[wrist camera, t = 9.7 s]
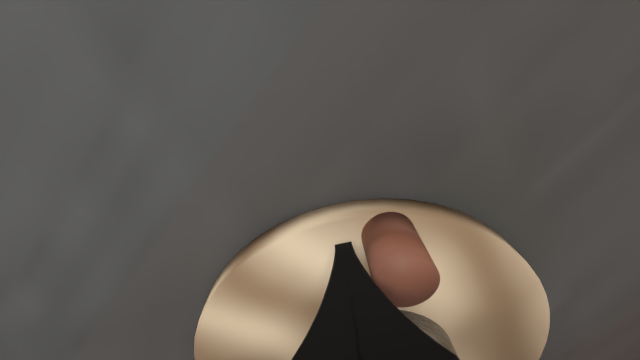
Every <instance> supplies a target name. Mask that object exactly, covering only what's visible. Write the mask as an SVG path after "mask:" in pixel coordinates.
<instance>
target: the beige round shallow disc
mask: <svg viewBox="0 0 640 360" xmlns="http://www.w3.org/2000/svg"><path fill="white" fill-rule="evenodd" d="M350 241H351V242H352V246H353V248H354V251H355V253H356V255H357V257H358V259H359V260H360V262H361V264H362V265H363V267H364V268H365V270H366V271H367V273H368V274H369V275H370V277H371V278H372V280H373V281H374V282H375V283H376V285H377V286H378V287H379V288H380V290H381V291H382V292H383V293H384V294H385V295H386V297H387V298H388V299H389V300H390V301H391V302H392V303H393V304H394V305H395V306H396V307H397V308H398V309H399V310H404V311H409V312H414V313H417V314H420V315H423V316H425V317H427V318H429V319H431V320H433V321H434V322H436V323H437V324H438V325H439V326H441V327H442V328H443V329H444V330H445V332H446V333H447V334H448V336H449V338H450V340H451V342H452V344H453V347H454V349H455V351H456V353H457V355H458V358H459V359H460V360H539V358H540V356H541V354H542V352H543V349H544V347H545V344H546V341H547V337H548V332H549V327H550V309H549V305H548V300H547V295H546V293H545V290H544V288H543V286H542V284H541V282H540V279H539V278H538V276H537V275H536V274H535V272H534V271H533V270H532V268H531V267H530V266H529V264H528V263H527V262H526V261H525V260H524V259H523V258H522V257H521V256H520V254H519V253H518V252H517V251H516V250H515V249H514V248H513V247H512V246H511V245H510V244H509V243H508V242H507V241H506V240H505V239H504V238H503V237H502V236H501V235H499V234H498V233H497V232H496V231H495V230H493V229H492V228H490V227H489V226H487V225H486V224H484V223H483V222H481V221H480V220H478V219H475V218H473V217H471V216H469V215H467V214H465V213H462V212H460V211H458V210H454V209H451V208H448V207H444V206H441V205H438V204H434V203H428V202H422V201H415V200H409V199H385V198H381V199H368V200H355V201H350V202H344V203H339V204H334V205H328V206H325V207H322V208H319V209H315V210H312V211H309V212H306V213H303V214H300V215H298V216H296V217H293V218H291V219H289V220H287V221H284V222H282V223H280V224H278V225H276V226H275V227H273V228H271V229H270V230H268V231H266V232H265V233H263V234H261V235H259V236H258V237H257V238H255V239H254V240H253V241H252V242H250V243H249V244H248V245H246V246H245V247H244V248H243V249H241V250H240V251H239V252H238V253H237V254H236V255H235V256H234V257H233V259H232V260H231V261H230V262H229V263H228V264H227V265H226V266H225V267H224V269H223V270H222V272H221V273H220V275H219V276H218V278H217V279H216V280H215V282H214V284H213V286H212V288H211V291H210V293H209V295H208V297H207V300H206V302H205V305H204V308H203V311H202V313H201V316H200V319H199V322H198V326H197V330H196V334H195V342H194V356H195V360H292V358H293V356H294V355H295V353H296V352H297V350H298V348H299V347H300V345H301V344H302V342H303V340H304V338H305V337H306V335H307V333H308V331H309V329H310V327H311V325H312V323H313V321H314V319H315V317H316V314H317V312H318V310H319V307H320V305H321V302H322V300H323V297H324V294H325V291H326V288H327V285H328V282H329V278H330V275H331V271H332V267H333V262H334V256H335V245H336V244H341V243H346V242H350Z"/></svg>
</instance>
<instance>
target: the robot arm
mask: <svg viewBox="0 0 640 360" xmlns="http://www.w3.org/2000/svg"><path fill="white" fill-rule="evenodd" d="M292 360H460V359H459V358H458V357H457V356H456V355H455V354H453V353H452V352H450V351H449V350H448V349H446V348H445V347H443V346H442V345H440V344H439V343H438V342H436V341H435V340H434V339H432V338H431V337H430V336H429V335H427V334H426V333H425V332H423V331H422V330H421V329H420V328H419V327H418V326H416V325H415V324H414V323H413V322H412V321H411V320H410V319H408V318H407V317H406V316H405V315H404V314H403V313H402V312H401V311H400V310H399V309H398V308H397V307H396V306H395V305H394V304H393V303H392V302H391V301H390V300H389V299H388V298H387V297H386V295H385V294H384V293H383V292H382V291H381V290H380V288H379V287H378V286H377V285H376V283H375V282H374V281H373V280H372V278H371V277H370V275H369V274H368V273H367V271H366V270H365V268H364V267H363V265H362V264H361V262H360V260H359V259H358V257H357V255H356V253H355V251H354V248H353V246H352V242H351V241H350V242H346V243H341V244H336V245H335V256H334V262H333V267H332V271H331V275H330V278H329V282H328V285H327V288H326V291H325V294H324V297H323V300H322V302H321V305H320V307H319V310H318V312H317V314H316V317H315V319H314V321H313V323H312V325H311V327H310V329H309V331H308V333H307V335H306V337H305V338H304V340H303V342H302V344H301V345H300V347H299V348H298V350H297V352H296V353H295V355H294V356H293V358H292Z"/></svg>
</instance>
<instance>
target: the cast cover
mask: <svg viewBox="0 0 640 360" xmlns="http://www.w3.org/2000/svg"><path fill="white" fill-rule="evenodd" d="M400 311H401V312H402V313H403V314H404V315H405V316H406V317H407V318H408V319H410V320H411V321H412V322H413V323H414V324H415V325H416V326H418V327H419V328H420V329H421V330H422V331H423V332H425V333H426V334H427V335H429V336H430V337H431V338H432V339H434V340H435V341H436V342H438V343H439V344H440V345H442V346H443V347H445V348H446V349H448V350H449V351H450V352H452V353H453V354H455V355H456V356H457V357H458V355H457V353H456V351H455V349H454V347H453V344H452V342H451V340H450V338H449V336H448V334H447V333H446V332H445V330H444V329H443V328H442V327H441V326H439V325H438V324H437V323H436V322H434V321H433V320H431V319H429V318H427V317H425V316H423V315H420V314H417V313H414V312H409V311H404V310H400Z"/></svg>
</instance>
